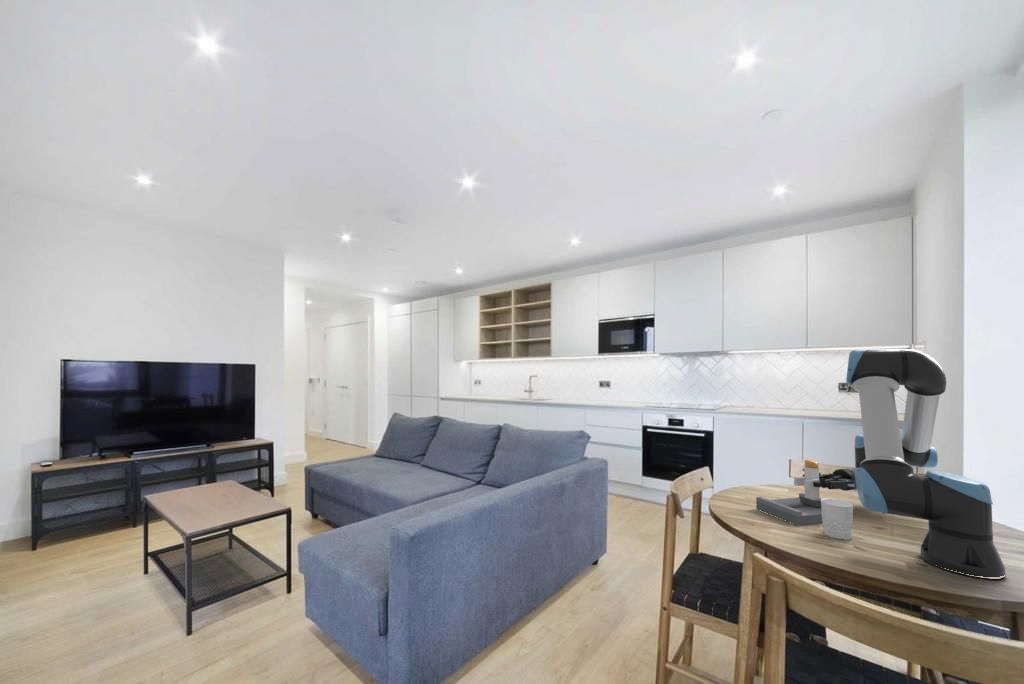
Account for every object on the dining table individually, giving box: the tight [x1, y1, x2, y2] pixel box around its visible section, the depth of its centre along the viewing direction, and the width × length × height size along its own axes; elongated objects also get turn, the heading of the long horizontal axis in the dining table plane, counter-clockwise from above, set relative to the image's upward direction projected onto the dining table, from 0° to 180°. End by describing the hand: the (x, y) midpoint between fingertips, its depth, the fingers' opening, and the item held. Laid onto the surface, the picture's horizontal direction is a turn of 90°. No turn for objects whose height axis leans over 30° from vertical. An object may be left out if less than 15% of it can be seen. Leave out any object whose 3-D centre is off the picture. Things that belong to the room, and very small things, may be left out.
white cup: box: [820, 498, 854, 541], centre depth 129 cm, size 8×8×10 cm
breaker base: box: [755, 492, 823, 527], centre depth 146 cm, size 16×22×4 cm
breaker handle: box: [800, 459, 822, 507], centre depth 148 cm, size 6×4×15 cm, turn 16°
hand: (800, 482), depth 147 cm, fingers closed on breaker handle, 3 cm apart
